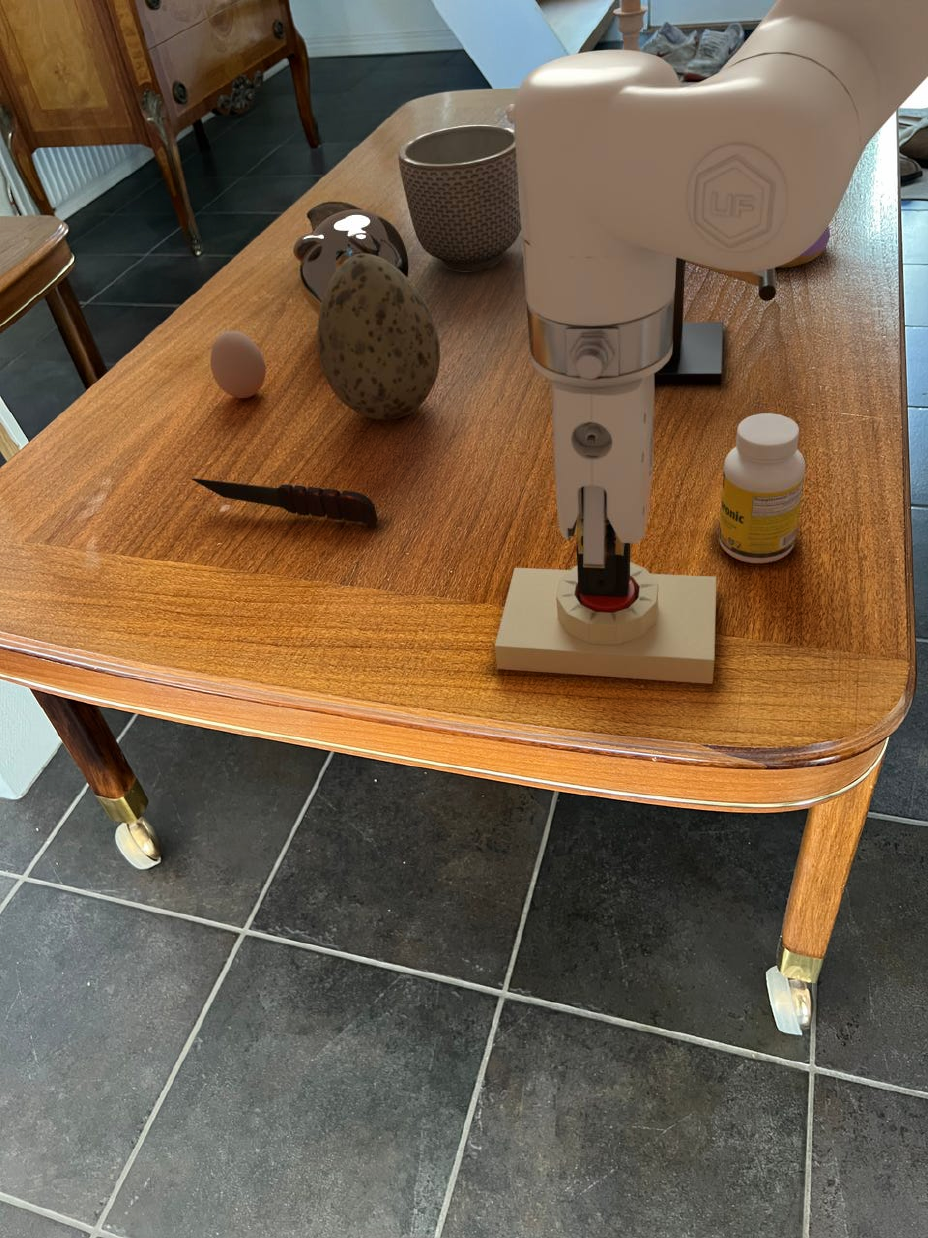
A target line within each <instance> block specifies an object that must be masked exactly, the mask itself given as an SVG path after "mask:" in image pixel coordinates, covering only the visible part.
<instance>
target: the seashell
mask: <svg viewBox="0 0 928 1238" xmlns="http://www.w3.org/2000/svg"><path fill="white" fill-rule="evenodd" d="M351 209H361V210H363V209H362V208H360V207H358V206H356V205H353V204H351V203H348V202H344V201H326V202H322V203H320V204H318V205H316V206H314V207H312V208H310V210H308V211H307V213H306V218H307V219H308V220H309V222H310V226H311V230H312V231H313V230H314V229H315V228H316V227H317V226H318V225H319V224H320V223H321V222H322V221H323V220H325V219H326V218H327V217H329V216H331V215H333V214H335V213H338V212H341V211H345V210H351Z"/></svg>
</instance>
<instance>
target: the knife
mask: <svg viewBox="0 0 928 1238" xmlns="http://www.w3.org/2000/svg"><path fill="white" fill-rule="evenodd" d="M191 480H192V481H194V482H196V483H197V484H199V485H201V486H202V487H205V488H206V489H208V490H210V492H214V493H215V494H217V495H218V496H220V497H221V498H223V499H224V498H225V499H231V500H235V501H236V500H237V501H242V502H247V503H253V504H259V505H265V506H270V507H275V508H280V509H281V508H282V509H284V510H285V511H286V512H288V513H290V514H293V515H295V514H297V515H299V516H307V517H308V516H311V517H315V518H316V517H317V518H325V517H326V518H328V519H331V520H337V521H342V520H345V521H346V522H351V523H352V522H353V523H362V524H365V525H366V526H368V527H369V528H371V529H373V528H374V527H375V526H376V524H377V522H378V521H379V518H378V515H377V510H376V506H375V504H374V502H373V501H372V499H370V498H369V497H368V496H366V495H364V494H363V493H360V492H357V491H352V490H342V492H341V491H340V490H339V489H335V488H325V489H323V488H321V487H316V486H315V487H314V486H308V487H306V486H305V485H298V484H297V485H296V484H295V485H294V486H293V484H287V483H286V484H280V486H278V487H273V486H265V485H255V484H246V483H238V482H230V481H229V482H228V481H221V480H212V479H203V478H191Z"/></svg>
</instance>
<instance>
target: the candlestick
mask: <svg viewBox="0 0 928 1238" xmlns="http://www.w3.org/2000/svg"><path fill="white" fill-rule="evenodd" d="M641 1H642V0H620V7H618V8H615V9H614V10H613V14H615V15H616V17H617V18H618V26H617V29H618V31H619V32H620V33H621V39H622V43H623V44H622V48H621V50H632V51H639V52H642V48H641V47H640V45H639V40H640V39H639V38H640V36H641V33H640V32H641V31H642V30H643V28H644V26H645V23H644V15H646V13H647V11H649V7H648V6H647V5H642V4H641V3H642V2H641Z"/></svg>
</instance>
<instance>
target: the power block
mask: <svg viewBox="0 0 928 1238" xmlns="http://www.w3.org/2000/svg"><path fill="white" fill-rule="evenodd" d="M630 579H631V580H632V582H633V583H634V586H635V602H634V603H633V604H632V605H631V606H630V607H629V608H627V609H623V610H620V611H617V612H614V613H606V612H595V611H593V610H591V609H589V608H587V607H584V606H582V605H581V604H580V593H579V591H578V571H577V564H576V565H574V566H573V567H572V568H571V569H556V568H555V569H554V568H533V567H532V568H531V567H514V568H513V572H512V576H511V580H510V584H509V588H508V591H507V594H506V595H507V596H506V600H505V603H504V607H503V611H502V615H501V619H500V623H499V626H498V631H497V633H496V639H495V642H494V654H495V661H496V668H497V670H507V671H518V672H519V671H521V672H536V673H547V674H548V673H549V674H561V675H562V674H564V675H579V676H590V677H591V676H594V677H606V678H622V679H635V680H651V681H664V682H679V683H692V684H693V683H694V684H706V685H707V684H708V685H712V684H713V681H714V672H715V671H714V670H715V658H716V655H715V654H716V623H717V622H716V621H717V620H716V619H717V586H718V585H717V584H718V583H717V582H718V581H717V580H718V577H717V576H712V575H711V576H709V575H690V574H689V575H687V574H686V575H685V574H669V573H668V574H666V573H650V572H649V570H648V568H645V567H643V566H641V565H638V564H636V563H634V562H631V561H630Z"/></svg>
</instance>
